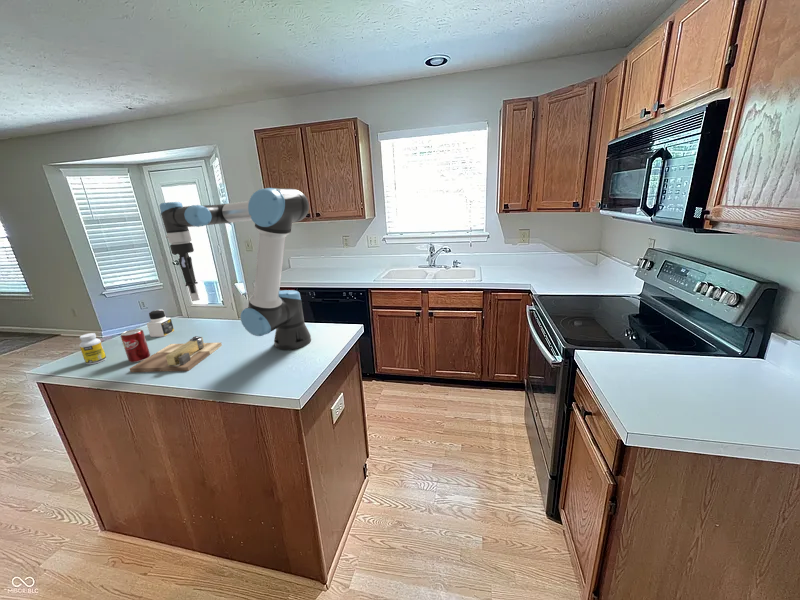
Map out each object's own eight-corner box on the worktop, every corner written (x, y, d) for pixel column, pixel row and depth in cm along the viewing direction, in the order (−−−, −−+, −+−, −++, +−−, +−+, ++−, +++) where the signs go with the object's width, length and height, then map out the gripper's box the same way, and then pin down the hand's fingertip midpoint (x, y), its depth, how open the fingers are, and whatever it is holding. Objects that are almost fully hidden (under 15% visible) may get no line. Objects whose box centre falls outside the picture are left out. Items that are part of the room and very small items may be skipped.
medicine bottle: (164, 336, 159) (158, 313, 156) (150, 337, 159) (143, 313, 156) (174, 330, 166) (168, 308, 163) (160, 331, 166) (154, 308, 163)
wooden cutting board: (221, 345, 145) (219, 336, 144) (188, 370, 124) (185, 359, 123) (171, 347, 146) (169, 337, 145) (130, 372, 125) (127, 361, 124)
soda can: (139, 363, 132) (130, 335, 129) (124, 362, 134) (115, 335, 130) (155, 355, 139) (147, 328, 135) (141, 354, 140) (132, 328, 137)
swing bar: (196, 345, 141) (193, 335, 140) (206, 345, 141) (203, 334, 140) (166, 365, 125) (163, 353, 124) (177, 364, 125) (174, 353, 123)
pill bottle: (83, 366, 132) (73, 339, 129) (89, 360, 138) (79, 334, 134) (104, 362, 135) (95, 336, 132) (108, 356, 141) (100, 330, 137)
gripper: (172, 242, 135) (187, 298, 142) (166, 245, 124) (182, 305, 131) (193, 240, 138) (207, 295, 145) (189, 243, 127) (204, 302, 133)
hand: (195, 300), depth 138 cm, fingers closed
